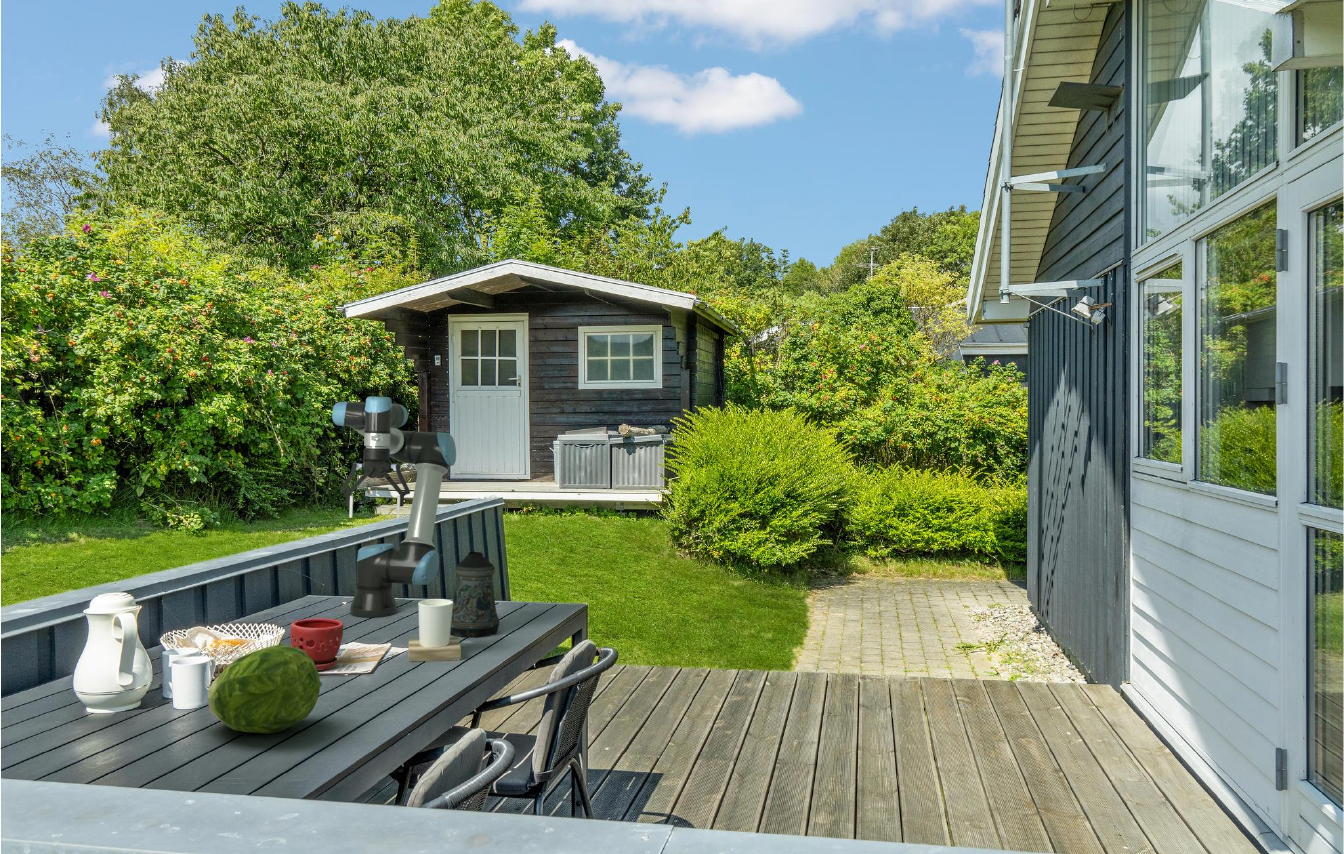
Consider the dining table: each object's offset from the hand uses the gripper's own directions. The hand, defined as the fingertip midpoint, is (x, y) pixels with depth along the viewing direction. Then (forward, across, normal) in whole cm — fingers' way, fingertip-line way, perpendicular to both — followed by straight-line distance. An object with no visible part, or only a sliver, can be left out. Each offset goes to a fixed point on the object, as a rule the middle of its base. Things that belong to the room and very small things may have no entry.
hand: (374, 517), depth 276 cm
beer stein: (+37, +30, +5) cm, 48 cm away
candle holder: (+34, +18, -22) cm, 44 cm away
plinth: (+37, +18, -22) cm, 46 cm away
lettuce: (+37, -20, -78) cm, 89 cm away
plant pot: (+37, -13, -30) cm, 49 cm away
